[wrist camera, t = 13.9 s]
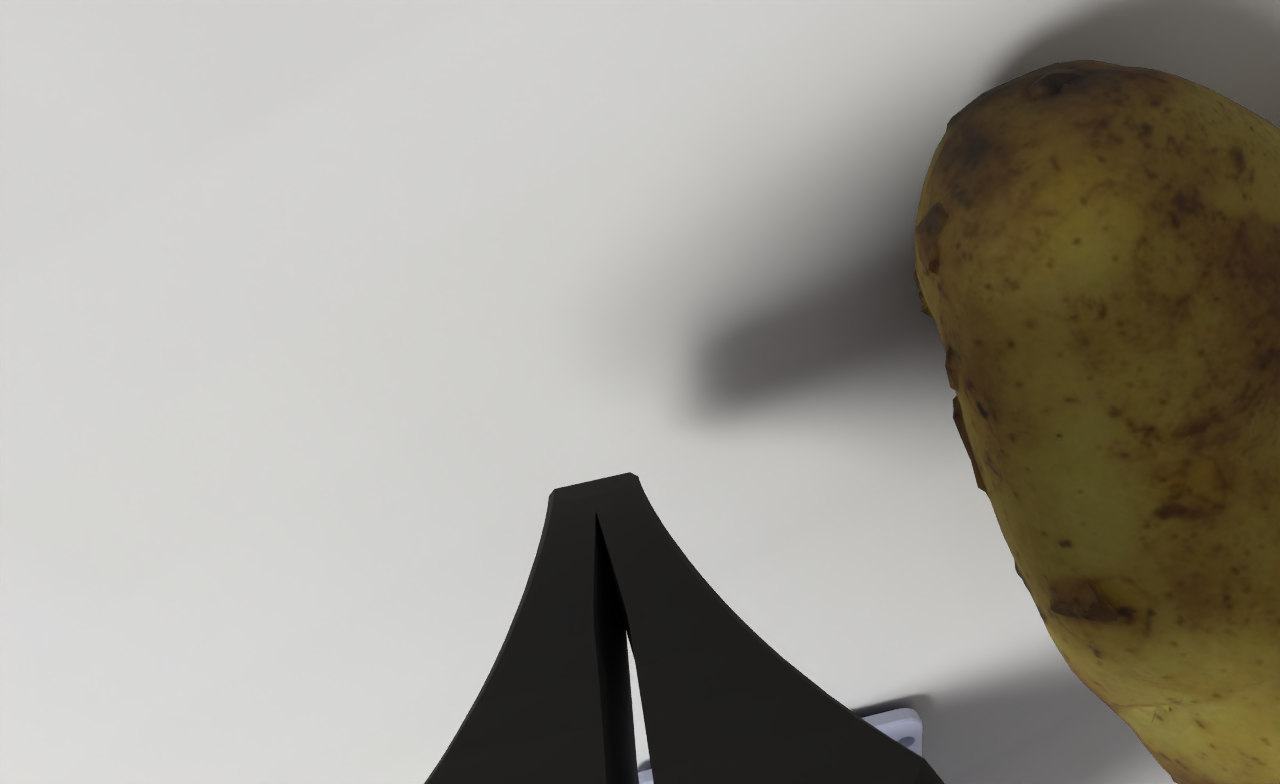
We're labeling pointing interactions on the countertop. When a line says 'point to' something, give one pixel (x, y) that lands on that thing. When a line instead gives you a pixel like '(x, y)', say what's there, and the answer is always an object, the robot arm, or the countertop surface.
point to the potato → (1125, 387)
